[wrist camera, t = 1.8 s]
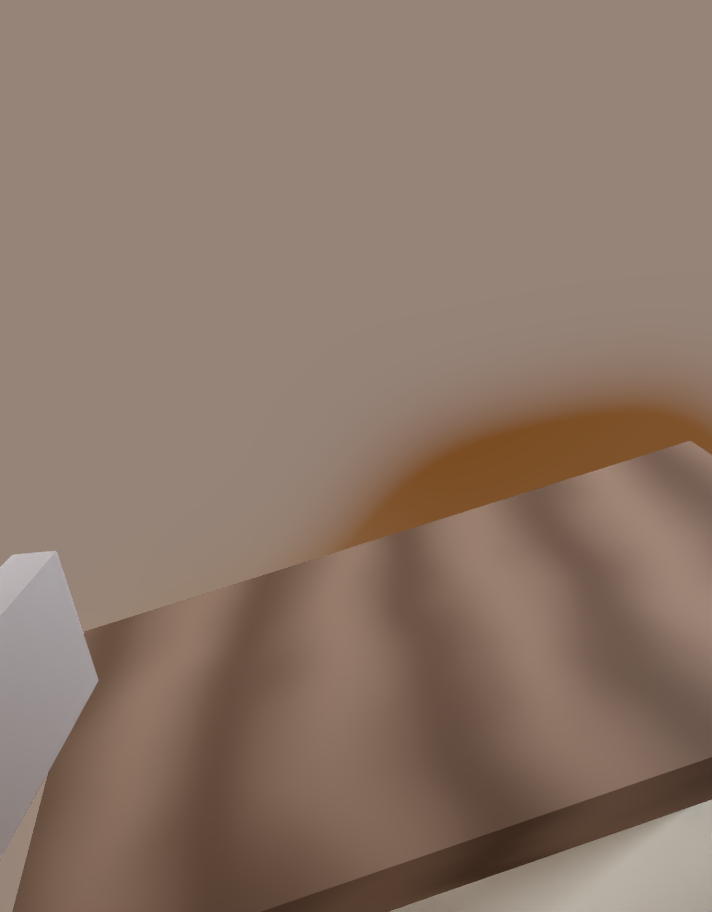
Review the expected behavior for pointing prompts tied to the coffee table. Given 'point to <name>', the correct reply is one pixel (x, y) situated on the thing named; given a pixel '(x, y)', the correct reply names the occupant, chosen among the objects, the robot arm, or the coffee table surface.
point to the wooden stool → (397, 710)
